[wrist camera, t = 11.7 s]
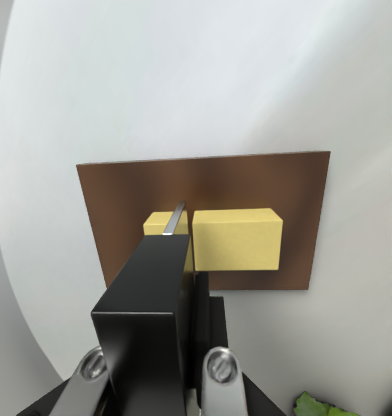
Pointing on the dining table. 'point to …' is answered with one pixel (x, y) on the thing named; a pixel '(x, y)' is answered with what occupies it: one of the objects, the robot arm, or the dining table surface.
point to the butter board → (210, 206)
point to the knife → (151, 325)
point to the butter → (237, 239)
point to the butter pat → (157, 223)
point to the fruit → (317, 408)
